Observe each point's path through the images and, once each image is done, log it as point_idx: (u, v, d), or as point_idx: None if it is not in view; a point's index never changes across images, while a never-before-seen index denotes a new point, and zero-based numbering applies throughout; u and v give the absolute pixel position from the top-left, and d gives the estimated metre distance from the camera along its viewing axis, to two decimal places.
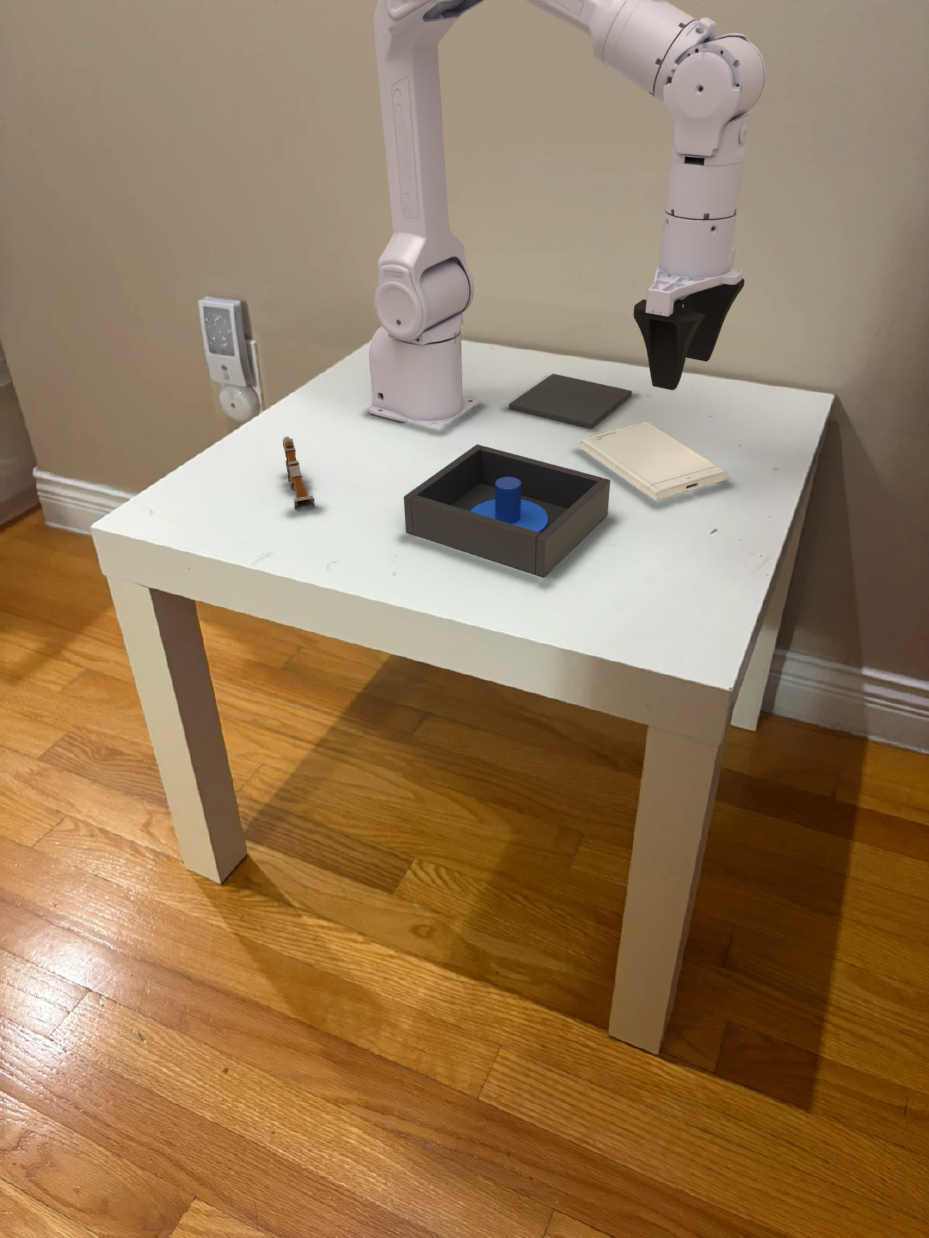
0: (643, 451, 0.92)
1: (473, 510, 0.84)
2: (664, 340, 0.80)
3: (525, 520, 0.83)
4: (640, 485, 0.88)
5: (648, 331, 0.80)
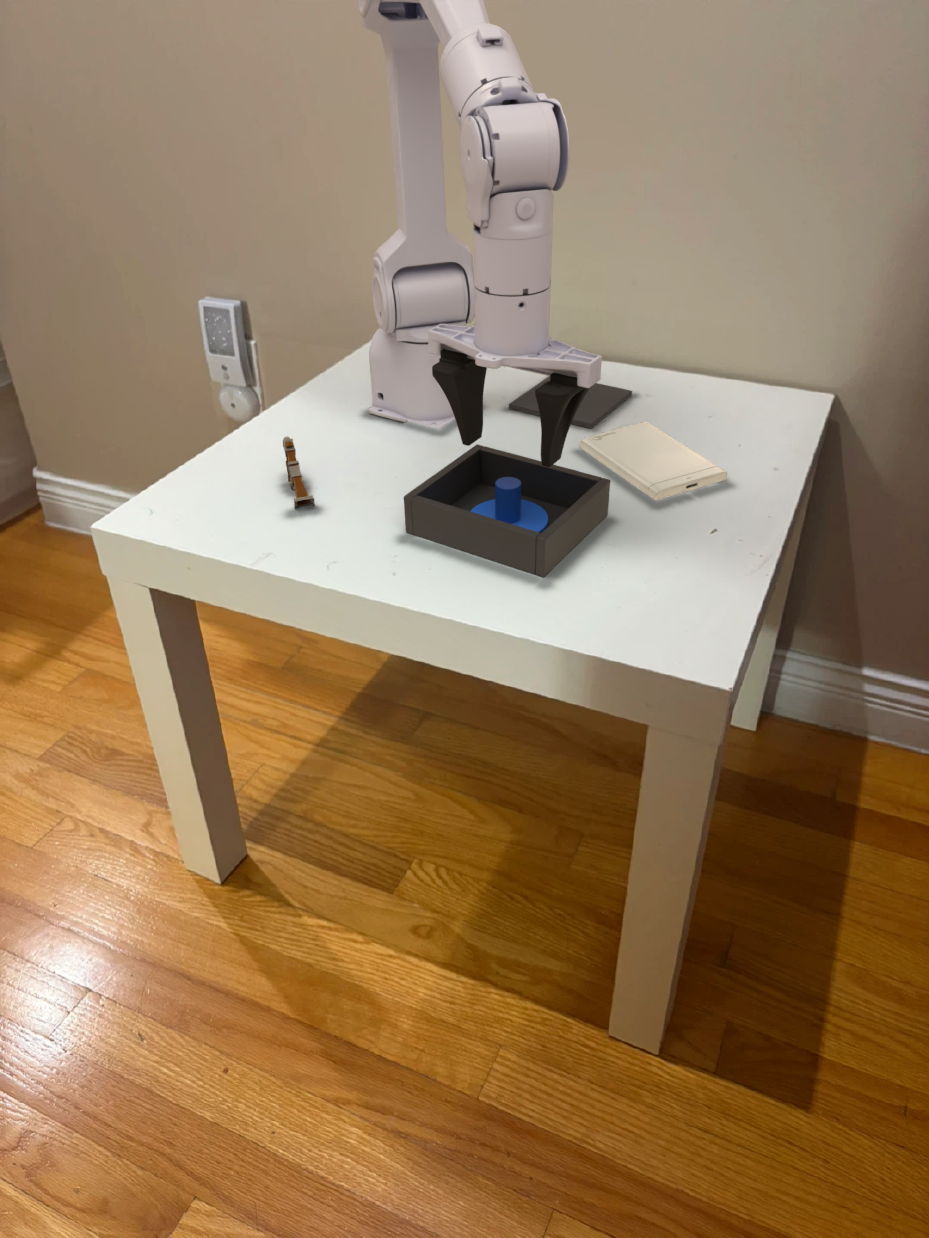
0: (643, 451, 0.92)
1: (473, 510, 0.84)
2: None
3: (525, 520, 0.83)
4: (640, 485, 0.88)
5: None
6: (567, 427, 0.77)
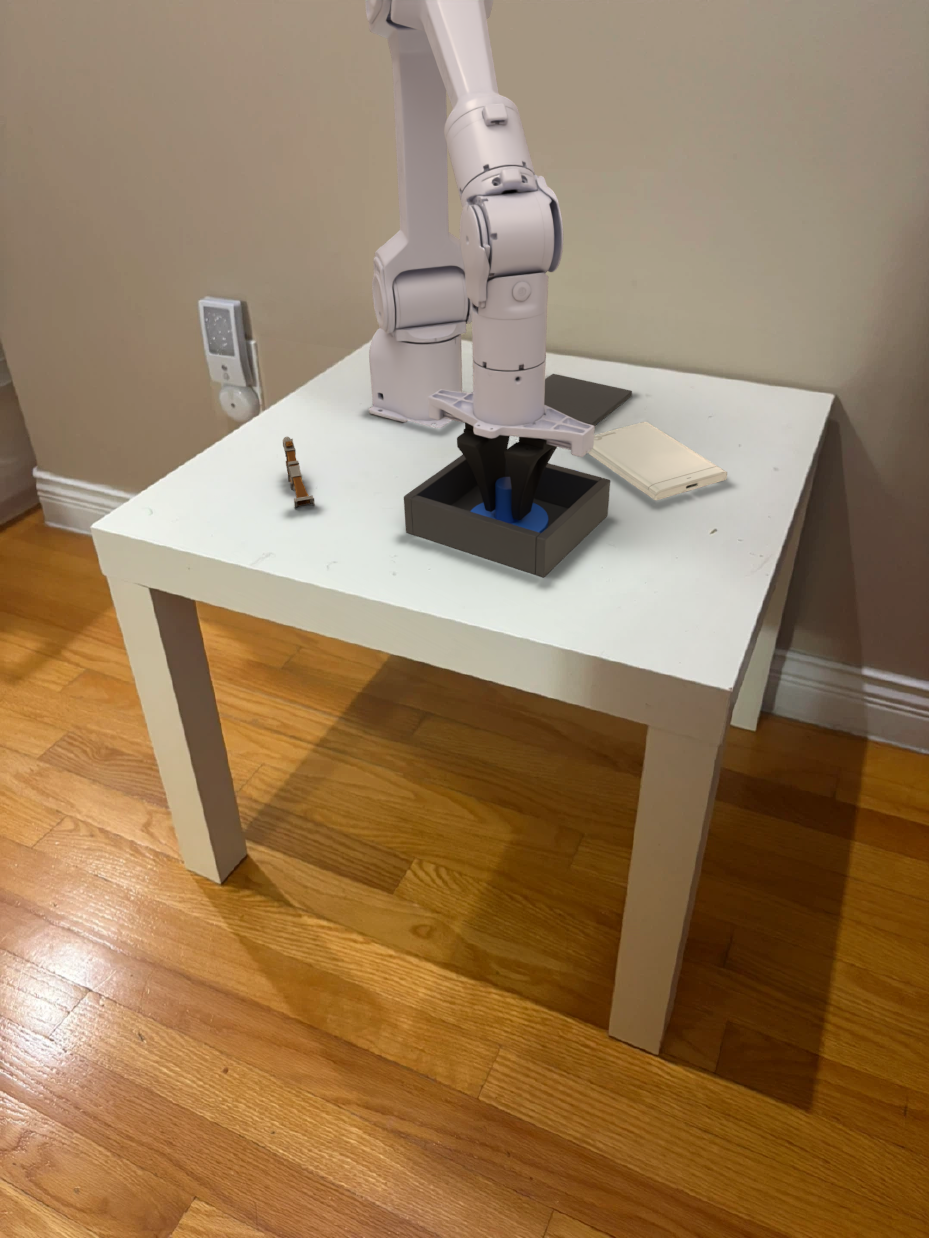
0: (643, 451, 0.92)
1: (473, 510, 0.84)
2: None
3: (525, 520, 0.83)
4: (640, 485, 0.88)
5: None
6: (536, 483, 0.81)
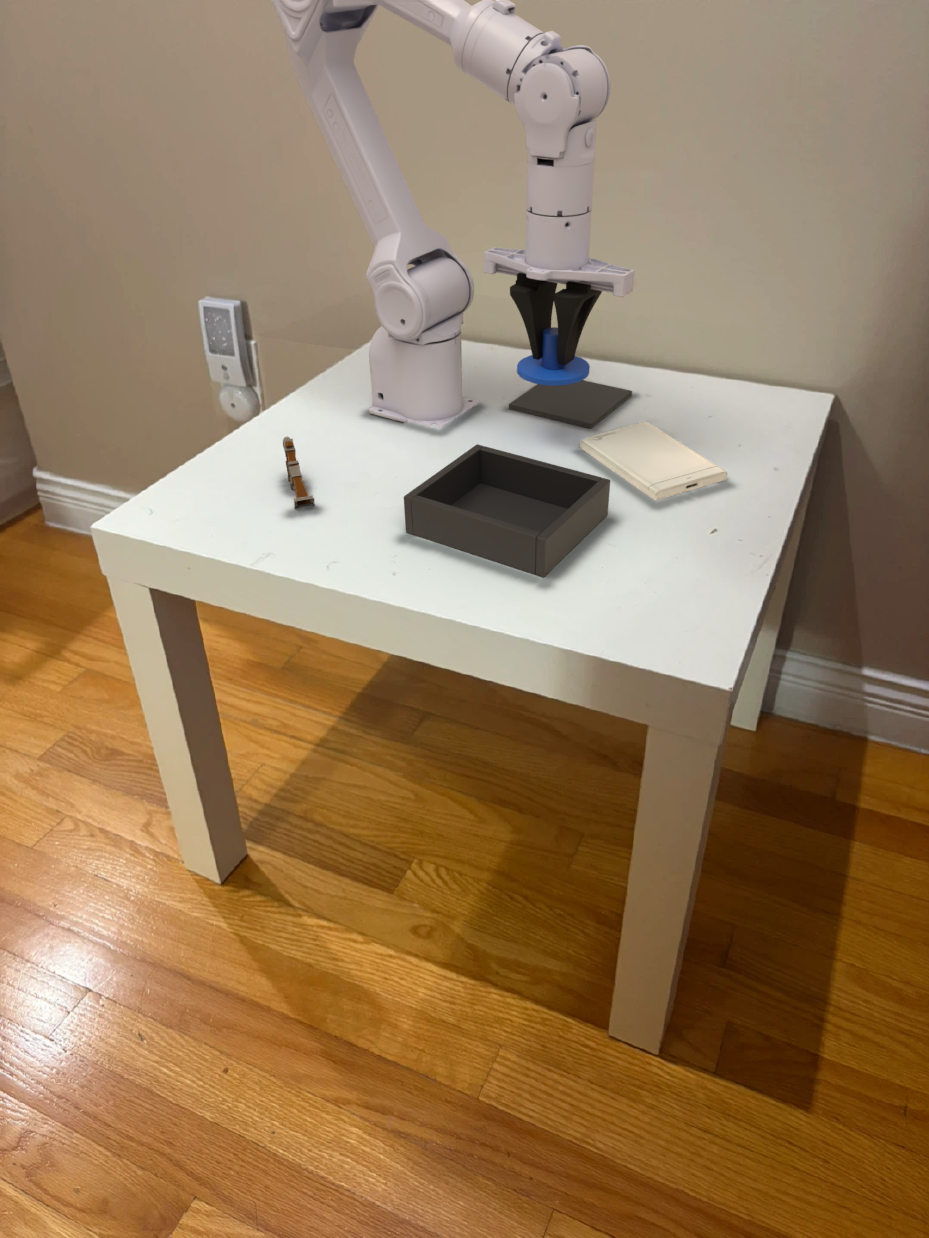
0: (643, 451, 0.92)
1: (521, 361, 0.94)
2: None
3: (568, 367, 0.92)
4: (640, 485, 0.88)
5: None
6: (580, 331, 0.91)
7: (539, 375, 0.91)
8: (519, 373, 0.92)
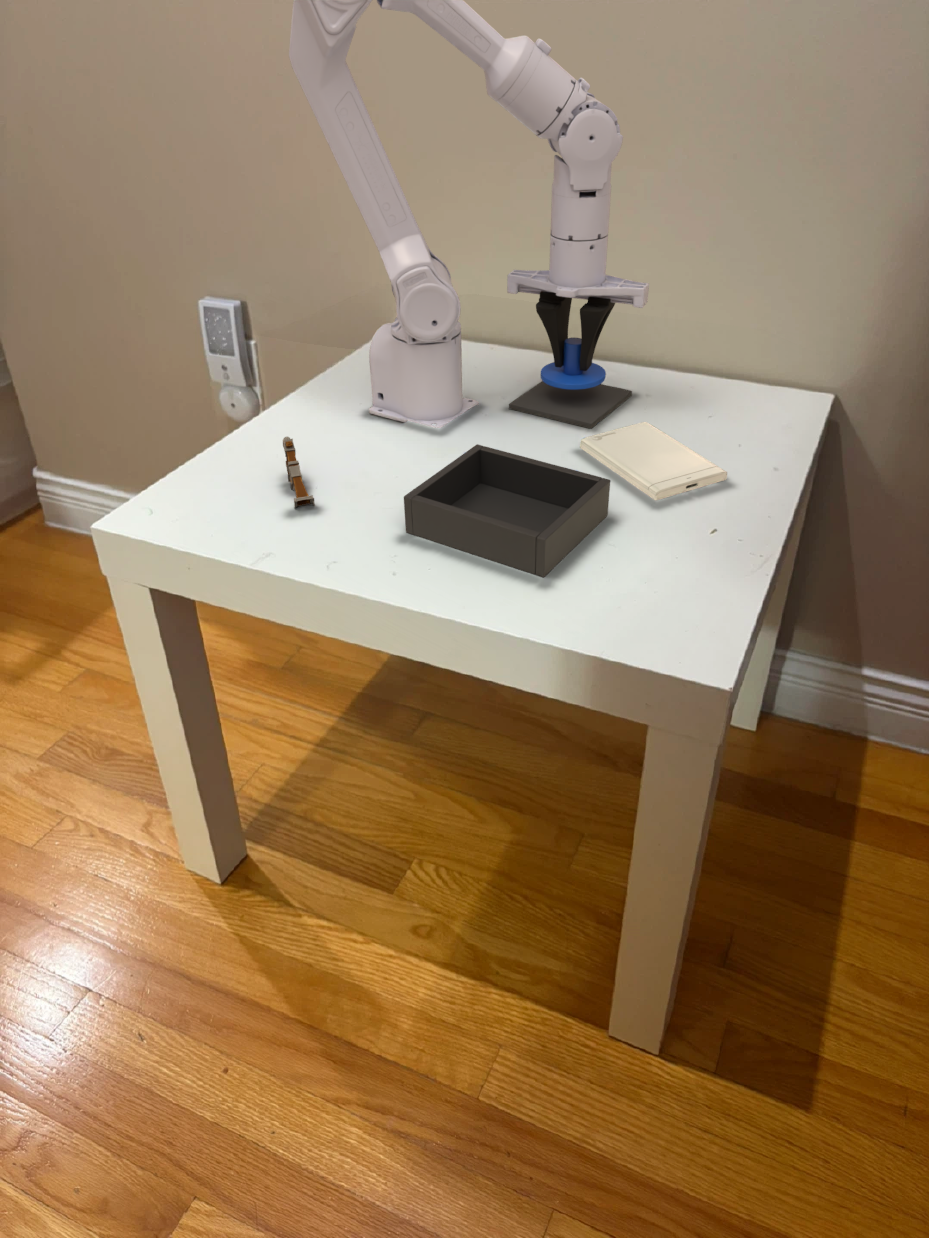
0: (643, 451, 0.92)
1: (543, 369, 1.04)
2: None
3: (587, 372, 1.03)
4: (640, 485, 0.88)
5: None
6: (596, 340, 1.02)
7: (565, 381, 1.02)
8: (545, 380, 1.02)
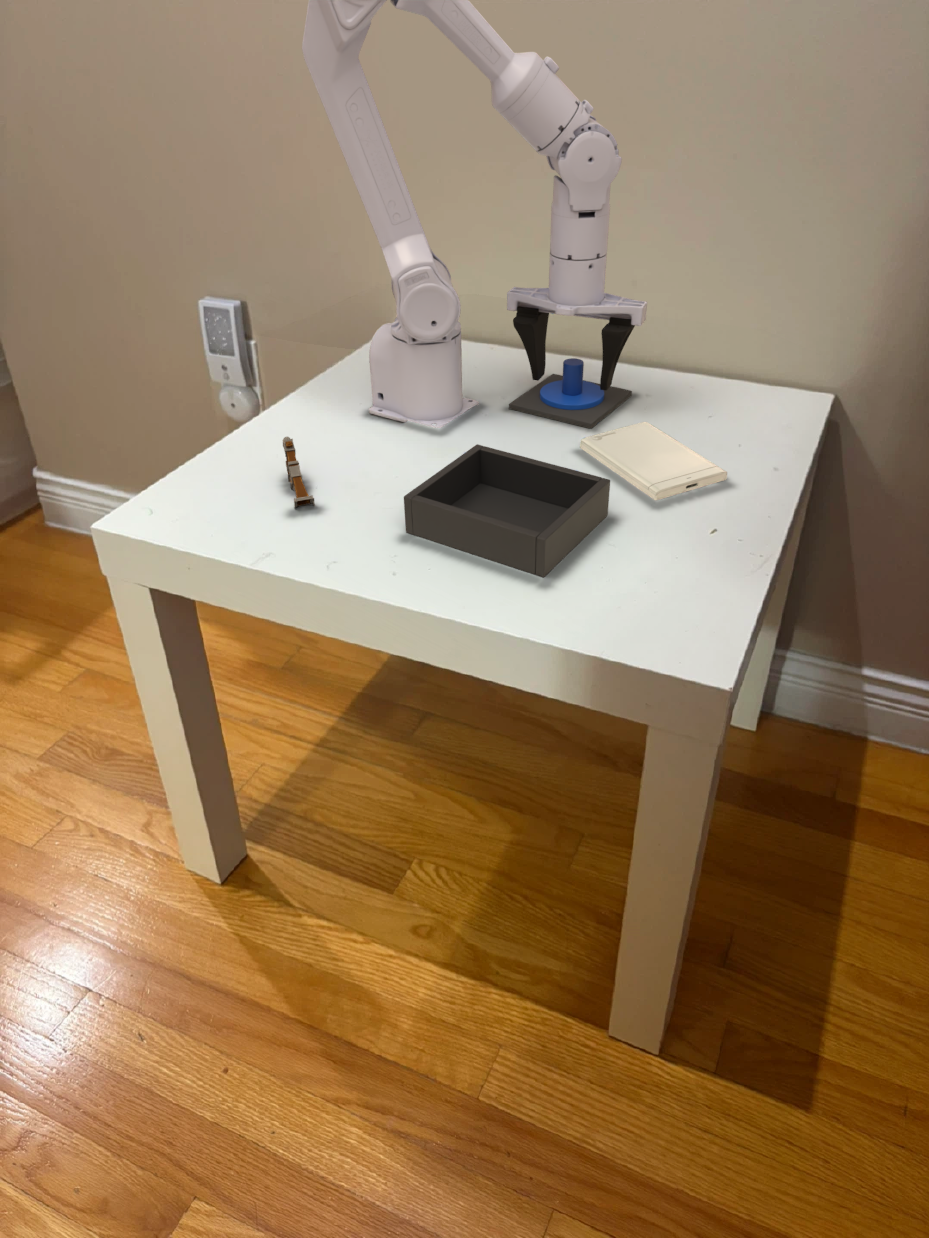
0: (643, 451, 0.92)
1: (542, 389, 1.06)
2: None
3: (586, 392, 1.05)
4: (640, 485, 0.88)
5: None
6: (617, 359, 1.02)
7: (564, 401, 1.03)
8: (545, 401, 1.04)
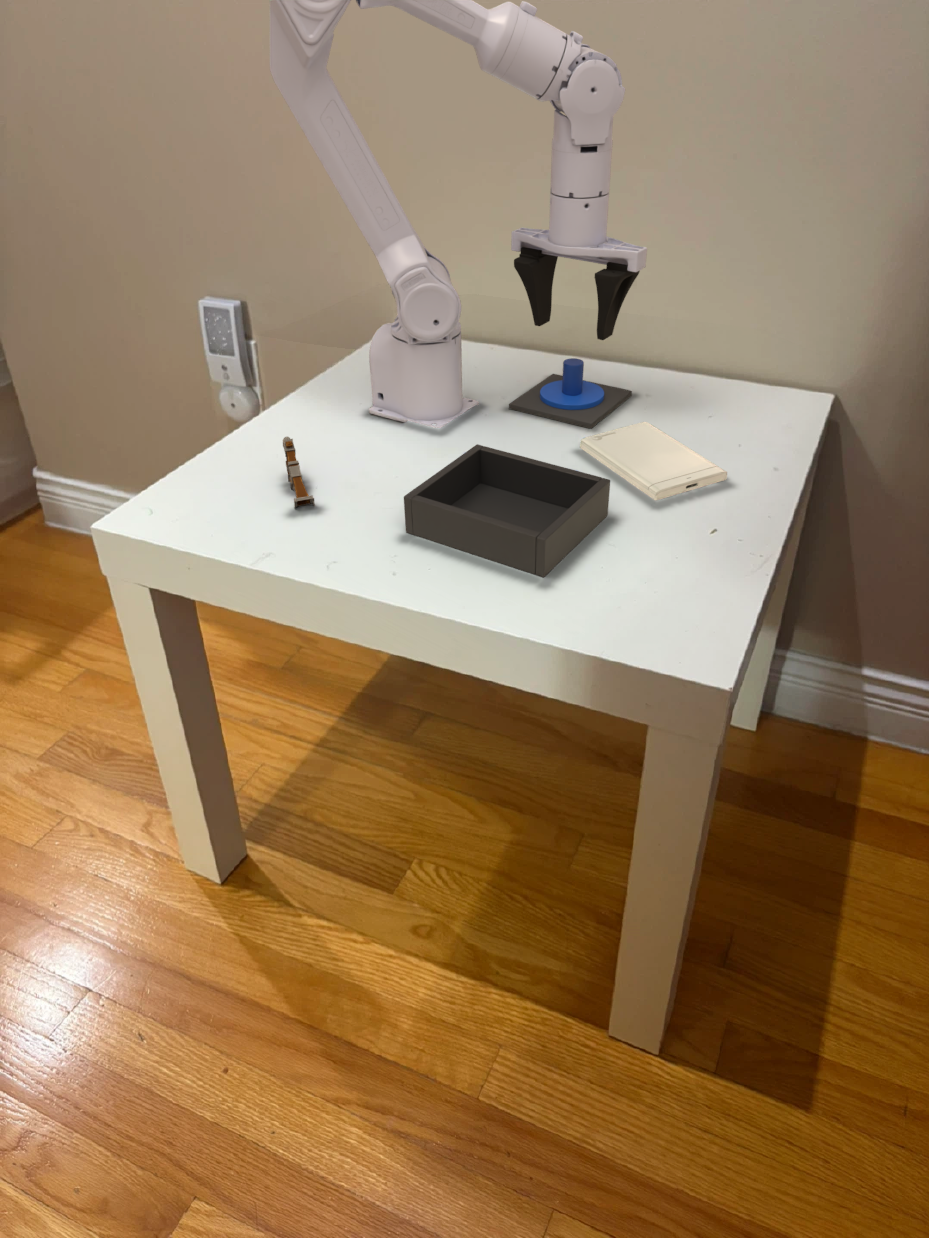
0: (643, 451, 0.92)
1: (542, 389, 1.06)
2: None
3: (586, 392, 1.05)
4: (640, 485, 0.88)
5: (616, 292, 0.95)
6: None
7: (564, 401, 1.03)
8: (545, 401, 1.04)
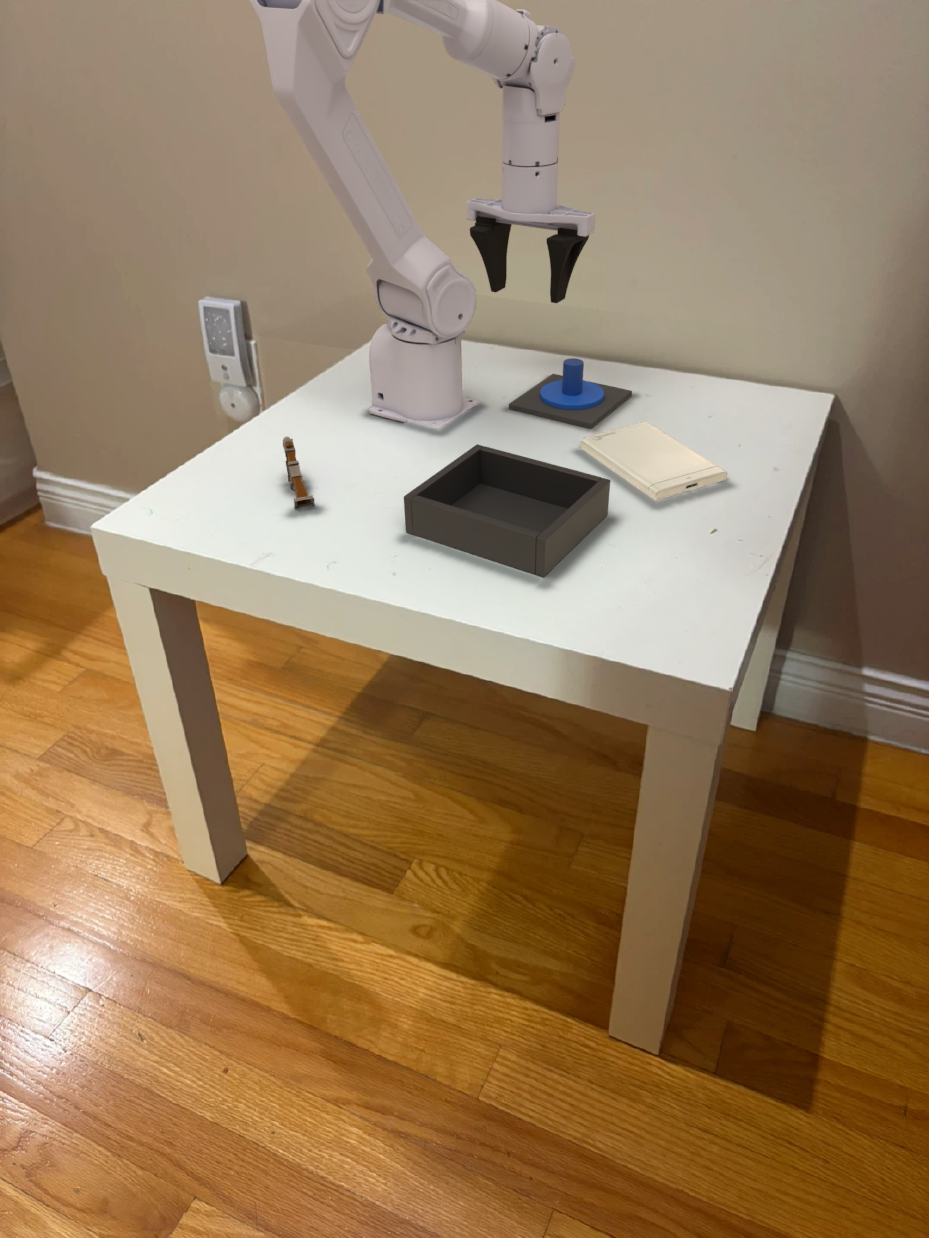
0: (643, 451, 0.92)
1: (542, 389, 1.06)
2: None
3: (586, 392, 1.05)
4: (640, 485, 0.88)
5: (567, 256, 1.00)
6: None
7: (564, 401, 1.03)
8: (545, 401, 1.04)
